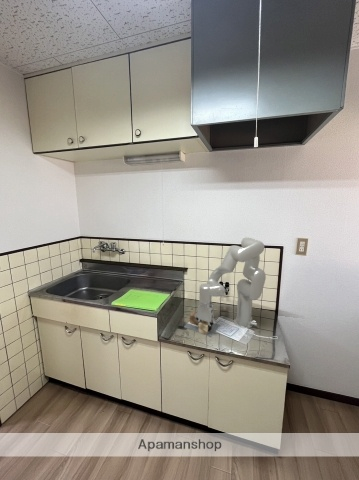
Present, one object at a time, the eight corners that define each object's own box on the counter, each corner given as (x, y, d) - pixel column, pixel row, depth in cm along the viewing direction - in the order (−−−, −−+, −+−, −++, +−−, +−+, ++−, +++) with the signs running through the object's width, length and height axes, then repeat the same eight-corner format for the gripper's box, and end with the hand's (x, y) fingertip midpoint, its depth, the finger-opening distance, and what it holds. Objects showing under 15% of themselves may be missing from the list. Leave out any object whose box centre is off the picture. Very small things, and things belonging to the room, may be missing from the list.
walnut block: (201, 321, 154) (201, 313, 153) (197, 325, 149) (197, 317, 148) (193, 318, 157) (194, 311, 156) (189, 322, 152) (189, 315, 151)
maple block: (211, 330, 144) (211, 321, 143) (206, 335, 139) (207, 326, 138) (202, 327, 147) (202, 319, 146) (198, 331, 142) (198, 323, 141)
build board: (220, 326, 149) (220, 325, 149) (210, 338, 137) (210, 337, 137) (194, 317, 160) (194, 316, 160) (183, 327, 148) (183, 326, 148)
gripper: (220, 304, 137) (219, 330, 141) (196, 297, 147) (196, 321, 151) (215, 309, 131) (214, 336, 135) (190, 302, 141) (190, 327, 144)
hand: (204, 328), depth 143 cm, fingers closed on maple block, 5 cm apart
